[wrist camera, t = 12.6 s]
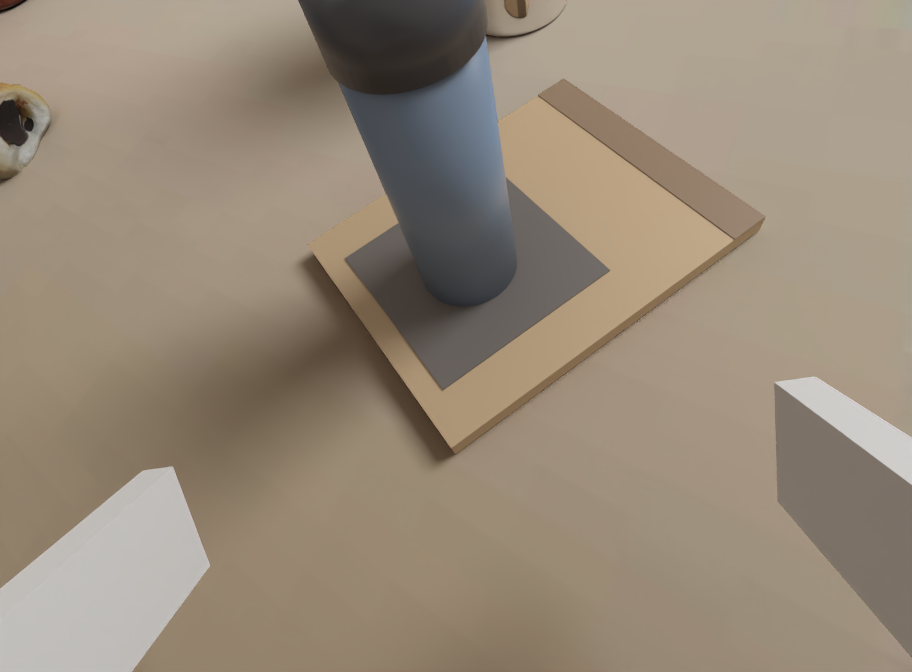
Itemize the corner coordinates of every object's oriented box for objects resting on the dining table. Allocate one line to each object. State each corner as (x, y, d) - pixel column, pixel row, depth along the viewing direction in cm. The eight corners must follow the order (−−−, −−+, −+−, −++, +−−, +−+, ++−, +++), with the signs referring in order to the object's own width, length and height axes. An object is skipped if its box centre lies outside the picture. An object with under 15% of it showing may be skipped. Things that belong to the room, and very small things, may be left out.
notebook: (314, 254, 25) (306, 243, 24) (563, 92, 27) (563, 77, 26) (455, 454, 19) (450, 447, 19) (758, 230, 21) (765, 216, 21)
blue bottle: (401, 261, 23) (261, -37, 12) (480, 208, 23) (409, -120, 13) (456, 327, 21) (345, 38, 10) (540, 268, 21) (515, -64, 11)
